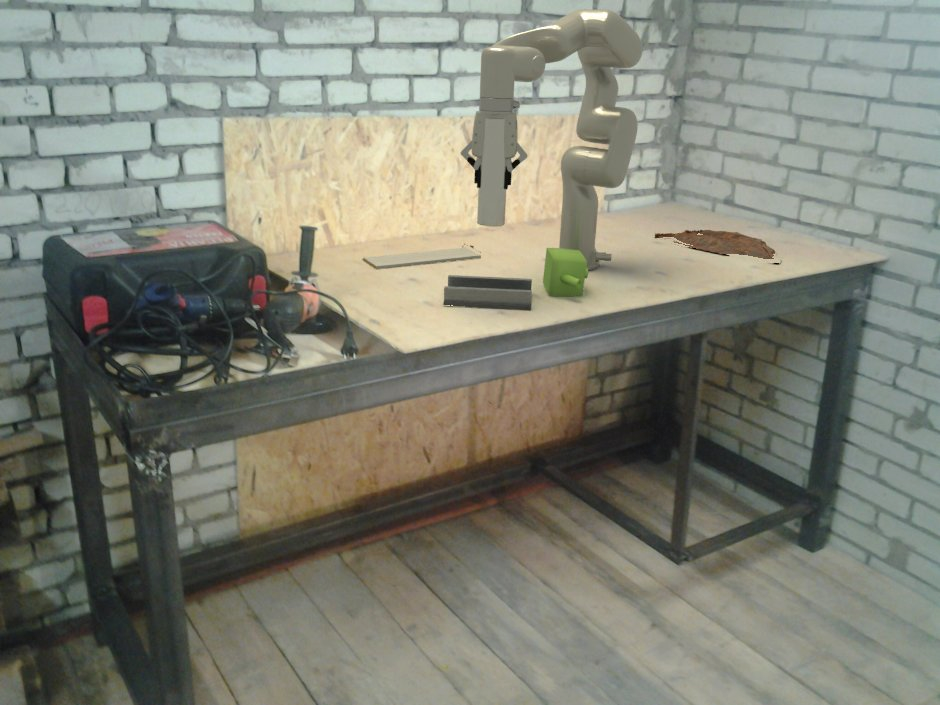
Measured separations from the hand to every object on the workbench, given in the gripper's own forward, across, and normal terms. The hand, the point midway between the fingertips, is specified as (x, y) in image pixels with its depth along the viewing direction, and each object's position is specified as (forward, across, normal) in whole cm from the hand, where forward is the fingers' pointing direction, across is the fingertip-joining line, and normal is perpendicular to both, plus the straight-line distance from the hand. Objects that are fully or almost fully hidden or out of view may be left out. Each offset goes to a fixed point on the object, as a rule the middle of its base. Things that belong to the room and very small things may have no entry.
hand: (492, 186), depth 200 cm
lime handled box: (+26, -19, -7) cm, 33 cm away
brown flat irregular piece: (+26, -70, -62) cm, 97 cm away
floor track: (+26, 0, +3) cm, 26 cm away
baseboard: (+27, +20, -31) cm, 46 cm away
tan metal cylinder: (+9, 0, 0) cm, 9 cm away
